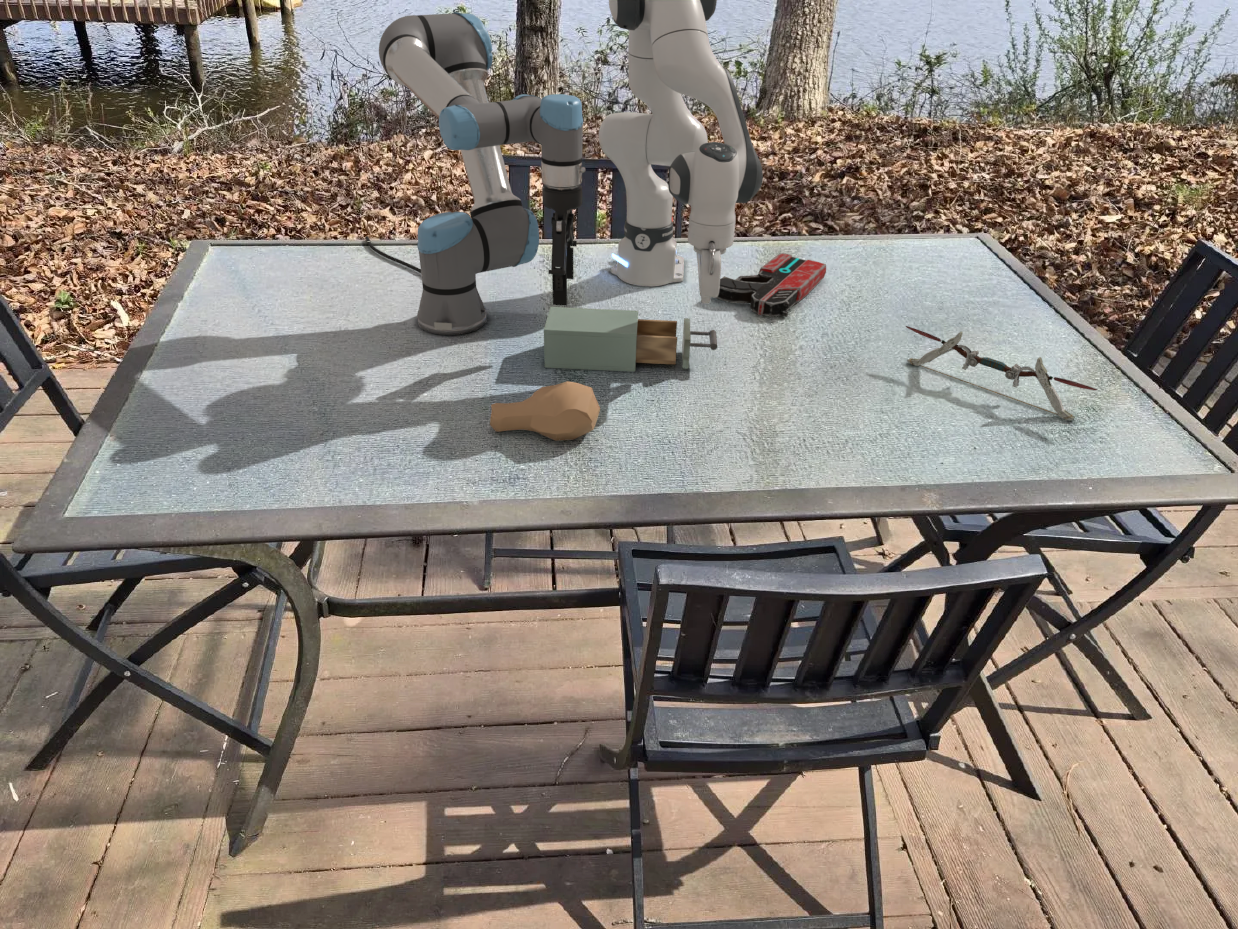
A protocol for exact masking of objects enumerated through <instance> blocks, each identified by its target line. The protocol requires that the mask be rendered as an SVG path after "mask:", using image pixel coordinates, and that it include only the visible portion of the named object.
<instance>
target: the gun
mask: <svg viewBox="0 0 1238 929" xmlns="http://www.w3.org/2000/svg"><path fill="white" fill-rule="evenodd" d="M826 273H827V264H826V263H823V262H820V261H816V260H812V259H802V258H799V257H795V256H793V255H792V254H791V253H784V252H780V253H778V254H777V255H775V256H774V257H773V258H771V259H770V260H768V261H767V262H766V263H765V264H763V265H762V266H761V267H760V269H759V271H758V273H757V274H756V275H753V274H752V275H751V274H750V275H740V276H738V277H737V278H735V279H734V278H731V277H727V276H722V277H720V288H719V295H718V297H713V298H714V299H716V300H719V301H723V302H727V303H730V304H750V305H749V308H750V310H751V312H753V313H755V314H757V315H758V316H760V317H761V316H765V317H770V318H771V317H777V316H780V317H784V318H787V317H788V315H789V311H788V310H790V309H791V308H792V307H793V306H794V305H795V304H798V303H799V302H801V301H802V300H803V299H804V298H805V297H807V296H808V295H809V294H810V293H811V292H812V291H813V290H814V289H815V287H817V285H818V284H820V283H821V282H822V280H823V279H824V278H825V276H826Z"/></svg>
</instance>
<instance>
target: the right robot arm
mask: <svg viewBox="0 0 1238 929" xmlns="http://www.w3.org/2000/svg"><path fill="white" fill-rule="evenodd" d="M717 2H718V0H608V7H609V12H610V14H611V16H612V19H613V22H614V23H615V24H616V26H617V27H619V28H620V29H623V30H627V31H628V40H627V41H628V44H627V46H628V47H627V48H628V51H627V52H628V53H627V56H628V58H627V60H628V63H627V64H628V66H627V67H628V69H627V70H628V71H627V72H628V74H627V75H628V87H629V89H630V91H631V93H632V94H633V95H634V97H635V98H637V99H638V100H640V101H641V102H642V103H644V104H645V105H646V106H647V107H648V108H649V110H650V111H651V113H645V112H644V113H643V112H633V111H623V112H616V113H614V112H613V113H610V114H608V115H607V116H606V117H605V118H604V119H603V121H602V122H601V124H600V126H599V130H598V143H599V146H600V150H601V151H602V152H603V154H604V155H605V156H606V157H607V158H608V159H609V160H610V161H611V162H612V163H613V164H614V166H615V167H616V168H617V170H618V172H619V174H620V175H621V179H622V181H623V184H624V187H625V195H626V196H625V197H626V218H625V220H624V225H623V230H624V231H623V232H624V237H623V238H621V239H620V240H619V241H618V245H617V254H615V253H611V258H612V259H613V260H615V261H616V264H614V265H613V266H612V267H610V273H611V274H613V275H614V276H617V277H618V278H619V279H620V280H621V281H623V282H624V283H627V284H630V285H634V286H639V287H660V286H665V285H668V284H673V283H681V282H683V281H684V273H685V272H684V271H685V268H684V267H685V258H684V257H683V256H681V255H677V247H678V246H677V245H678V243H677V240H676V239H675V237H674V229H675V228H674V227H675V226H674V216H673V206H674V205H673V204H674V203H673V202H674V199H675V200H676V201H677V202H679V203H680V204H683V205H689V206H690V212H689V217H688V227H687V228H688V229H687V230H688V232H687V243H688V244H689V245H691V246H692V247H693V251H694V252H695V253H696V261H697V275H698V290H699V291H698V292H699V296H700V302H701V304H704V305H705V304H706V305H709V304H710V303H711V298H714V297H718V295H719V288H720V279H721V277H722V276H721V274H722V256H723V255H724V254H726V252H727V249H728V248H730V247H732V246H733V244H734V239H735V230H736V220H737V216H736V211H735V210H736V209H735V208H736V204H747V203H749V201H751V200H752V199H753V198H754V197H755V196H756V195H757V194H758V192H759V191H760V189H761V187H762V185H763V180H764V173H763V172H764V171H763V166H762V163H761V160H760V159H759V156H758V154H757V152H756V150H755V147H754V145H753V142H752V138H751V135H750V133H749V128H748V126H747V122H746V118H745V115H744V112H743V108H742V105H741V101H740V98H739V94H738V91H737V88H736V85H735V83H734V80H733V77H732V75H731V72H730V71H729V70H728V69H727V68H726V67H724V66H723V65H722V64H721V63H720V61H718V59H717V56H715V54H714V52H713V49H712V46H711V44H710V40H709V33H708V26H707V22H708V21H709V20H710V19H711V18H712V17H713V16H714V14H715V11H716V8H717ZM683 96H687V97H690V98H692V99H695V100H697V101H699V102H701V103H703V104H704V105H706V106H708V107H709V108H710V109H711V110H712V112H713V113H714V114H715V116H716V119H717V122H718V126H719V129H720V132H721V137H722V140H723V142H724V143H723V142H721V141H719V142H718V141H710V142H709V140H708V133H707V131H706V128H705V127H704V125H703V123H702V122H701V121H699V120H698V119H697V118H696V117H695V116H694V115H693V114H692V112H691V111H690V110H689V108H688V106H687V105H686V103H685V101H684V98H683ZM652 165H655V166H663V167H669V169H668V176H667V177H668V180H667V181H666V180H664V179H663V178H660V177H659V176H658V175H657V174H656V172H655V171H654V169H653V168H652ZM667 182H668V183H667Z"/></svg>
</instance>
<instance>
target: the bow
mask: <svg viewBox="0 0 1238 929" xmlns="http://www.w3.org/2000/svg"><path fill="white" fill-rule="evenodd" d="M905 328H907V329H909V330H910V331H912V332H914V333H916V334H918V335H920V336H923V337H925V338H927V339H930V340H932V341H936V342H939V343H941V344H942V346H940V347H936V348H934V349H932V350H930V351H928V352H926V353H925V354H924V355H923V356H921V357H920V358H913V357H909V358H908V359H907V363H908V364H910V365H912V366H916V367H918V366H920V367H922V368H925V369H927V370H930V371H933V372H935V373H938V374H941V375H945V376H947V377H950V378H952V379H955V380H958V381H960V382H964V383H967V384H970V385H973V386H975V387H978V388H981V389H983V390H986V391H988V392H992V393H995V394H997V395H1001V396H1003V397H1006V398H1008V399H1011V400H1014V401H1016V402H1020V403H1022V404H1026V405H1028V406H1031V407H1033V408H1037V409H1040V410H1042V411H1045V412H1048V413H1050V414H1053V415H1056V416H1059V417H1060V418H1062V419H1063V420H1067V421H1074V419H1076V416H1074V415H1073V414H1072V413H1070V412H1069V411H1067V410H1066V409H1065V408H1064V405H1063V402H1062V398H1061V397H1060V395H1059V394H1058V391H1057V390H1056V389H1055V387H1054V386H1053V385H1052V383H1051V381H1052V380H1054V381H1055V382H1058V383H1062V384H1064V385H1067V386H1070V387H1073V388H1074V387H1075V388H1079V389H1083V390H1091V391H1098V390H1099V389H1098V388H1095V387H1093V386H1089V385H1087V384H1083V383H1080V382H1077V381H1073V380H1069V379H1065V378H1062V377H1056V376H1052V375H1049V373H1048V370H1047V368H1046V366H1045V365H1044V362H1043V358H1042V357H1041V356H1039V357H1038V358H1037V359H1036V362H1035V366H1034V368H1032V367H1030V366H1021V365H1019V364H1018V363H1015V364H1013V366H1011V367H1010V366H1009V365H1008V364H1006V363H1005V362H1002V361H999V360H996V359H994V358H991V357H987V356H986V357H985V356H984V357H980V356H979V354H980V352H979V350H971V348H969V347H968V346H967V345H964V344H959V343H960V342H961V340H962V337H963V331H959V332H958V333H957V334H956V335H955V336H953V337H951V338H949V339H948V340H947V341H946V340H944V339H941V338H940V337H938V336H935V335H933V334H930V333H928V332H926V331H923V330H920V329H918V328H914V327H911V326H908V325H905ZM951 351H956V352H957V353H958V354H959V355H960V356H962V357H963V358H965V362H964V363H963V365H962V367H961V370H964V371H966V370H967V369H969V366H970V367H973V368H975V367H976V366H978V365H979V364H980V365H982V366H984V367H988V368H991V369H994V370H997V371H999V372H1002V373H1005V374H1004V376H1005V378H1006V379H1008V380H1013V381H1012V387H1013V388H1018V387H1019V386H1020V378H1028V377H1035V379H1036V380H1037V381H1038V383H1039V384H1040V386H1041V388H1042V390H1043V391H1044V393H1045V396H1046V398H1047V399H1048V401H1049V403H1050V406H1051V407H1052V409H1053V410H1054V411H1055V412H1053V411H1050V410H1048V409H1045V408H1042V407H1040V406H1036V405H1034V404H1031V403H1028V402H1025V401H1024V400H1023V401H1022V400H1019V399H1017V398H1014V397H1011V396H1008V395H1006V394H1003V393H1000V392H997V391H994V390H991V389H989V388H986V387H983V386H981V385H978V384H975V383H972V382H969V381H966V380H964V379H961V378H957V377H955V376H952V375H949V374H947V373H945V372H941V371H938V370H936V369H932V368H929V367H926V366H924V365H925V364H927V363H931V362H933V361H934V360H935V359H938V358H939V357H940V356H943V355H944V354H946V353H949V352H951Z"/></svg>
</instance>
